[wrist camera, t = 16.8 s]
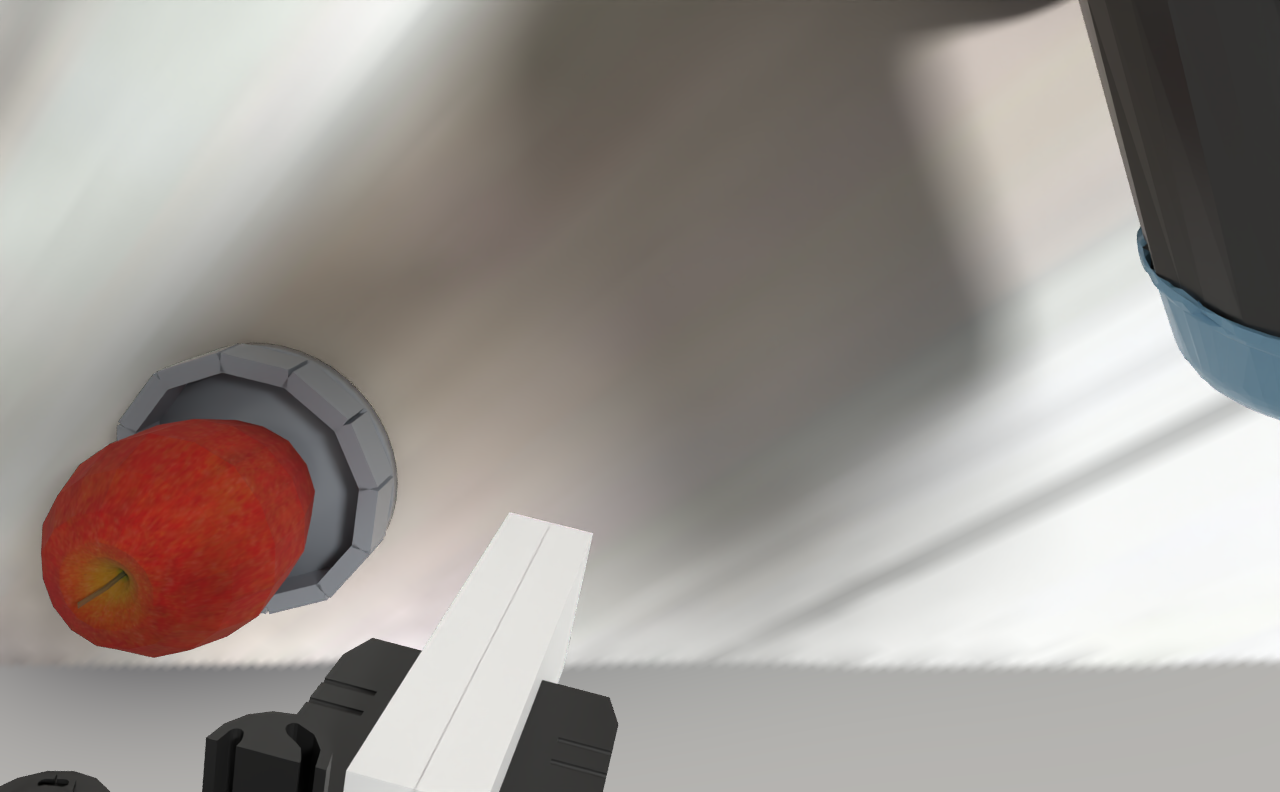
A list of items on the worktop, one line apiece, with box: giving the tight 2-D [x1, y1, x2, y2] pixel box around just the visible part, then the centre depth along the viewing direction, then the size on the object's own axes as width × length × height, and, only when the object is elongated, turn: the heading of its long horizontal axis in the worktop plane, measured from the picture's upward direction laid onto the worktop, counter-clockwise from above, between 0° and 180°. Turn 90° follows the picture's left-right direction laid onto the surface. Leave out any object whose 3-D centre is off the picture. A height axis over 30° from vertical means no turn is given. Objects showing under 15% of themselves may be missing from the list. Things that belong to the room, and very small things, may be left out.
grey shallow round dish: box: [117, 343, 398, 614], centre depth 48 cm, size 14×14×3 cm
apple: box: [41, 419, 315, 658], centre depth 42 cm, size 10×10×14 cm
